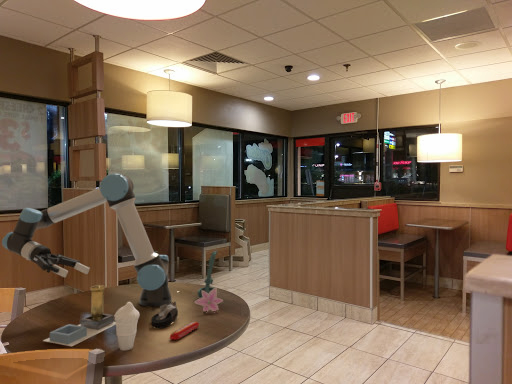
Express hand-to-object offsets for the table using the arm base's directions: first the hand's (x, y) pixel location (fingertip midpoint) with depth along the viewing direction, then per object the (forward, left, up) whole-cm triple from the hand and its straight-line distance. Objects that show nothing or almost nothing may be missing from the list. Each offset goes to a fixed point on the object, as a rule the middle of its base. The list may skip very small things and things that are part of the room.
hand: (77, 272), depth 148 cm
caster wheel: (-35, +8, -21) cm, 42 cm away
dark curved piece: (-55, -22, -21) cm, 63 cm away
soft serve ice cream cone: (-22, +29, -21) cm, 42 cm away
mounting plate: (-5, +13, -20) cm, 25 cm away
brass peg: (-9, +7, -19) cm, 22 cm away
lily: (-54, -4, -21) cm, 58 cm away
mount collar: (-9, +7, -19) cm, 22 cm away
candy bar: (-42, +20, -21) cm, 51 cm away
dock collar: (-2, +19, -19) cm, 27 cm away
